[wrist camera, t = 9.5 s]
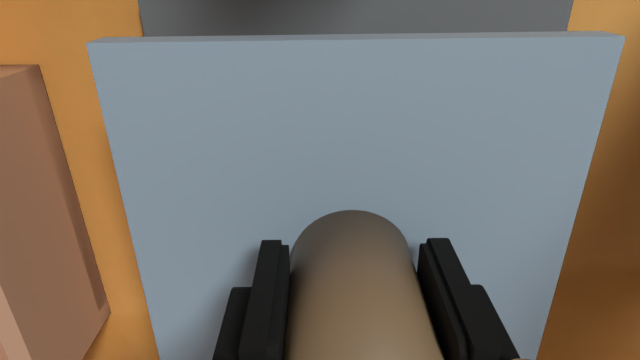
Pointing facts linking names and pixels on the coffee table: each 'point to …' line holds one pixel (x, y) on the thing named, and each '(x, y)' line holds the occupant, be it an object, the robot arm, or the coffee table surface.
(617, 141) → the coffee table surface
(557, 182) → the lid
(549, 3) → the mat
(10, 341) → the dish
